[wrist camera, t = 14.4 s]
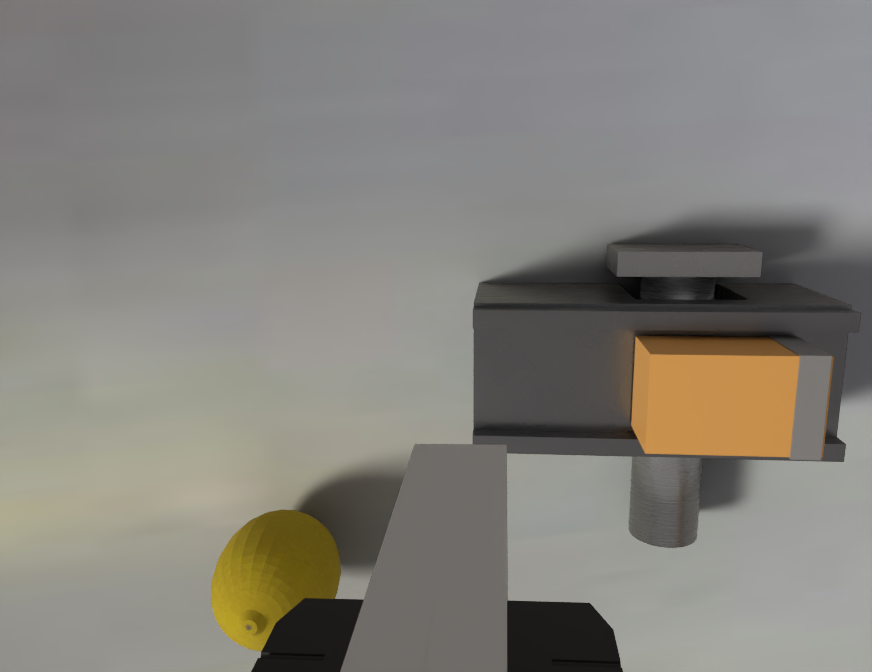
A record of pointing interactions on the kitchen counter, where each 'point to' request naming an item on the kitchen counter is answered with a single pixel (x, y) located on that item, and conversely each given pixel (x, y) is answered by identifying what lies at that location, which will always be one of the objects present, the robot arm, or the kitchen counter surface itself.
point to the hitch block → (619, 357)
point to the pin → (683, 280)
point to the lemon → (272, 574)
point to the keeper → (731, 396)
